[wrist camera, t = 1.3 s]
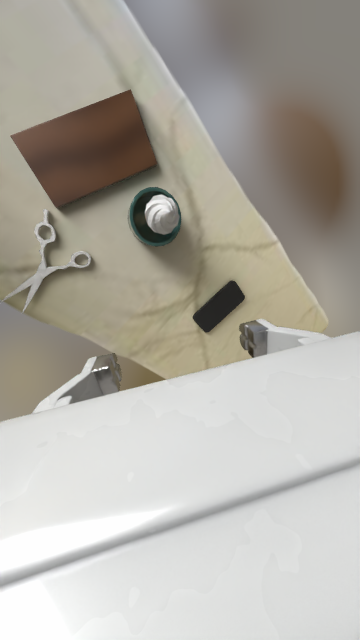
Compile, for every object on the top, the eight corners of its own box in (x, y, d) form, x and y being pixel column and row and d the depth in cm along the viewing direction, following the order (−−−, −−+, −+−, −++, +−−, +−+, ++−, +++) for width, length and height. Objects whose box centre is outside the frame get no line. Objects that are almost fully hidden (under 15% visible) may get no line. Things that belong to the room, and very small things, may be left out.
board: (13, 139, 29) (9, 135, 28) (130, 94, 31) (130, 89, 30) (57, 208, 34) (55, 207, 33) (156, 166, 36) (157, 163, 34)
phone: (191, 317, 50) (233, 279, 49) (190, 316, 51) (232, 278, 50) (207, 334, 53) (246, 298, 53) (205, 332, 54) (244, 297, 53)
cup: (118, 205, 36) (119, 200, 31) (162, 186, 37) (169, 178, 32) (141, 252, 41) (145, 254, 36) (179, 234, 42) (188, 233, 37)
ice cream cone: (159, 240, 41) (179, 240, 27) (134, 228, 38) (143, 222, 25) (168, 213, 39) (195, 201, 26) (143, 199, 37) (158, 178, 24)
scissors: (98, 253, 37) (37, 325, 39) (98, 252, 38) (38, 323, 40) (44, 208, 32) (-23, 293, 34) (46, 208, 33) (-21, 292, 35)
